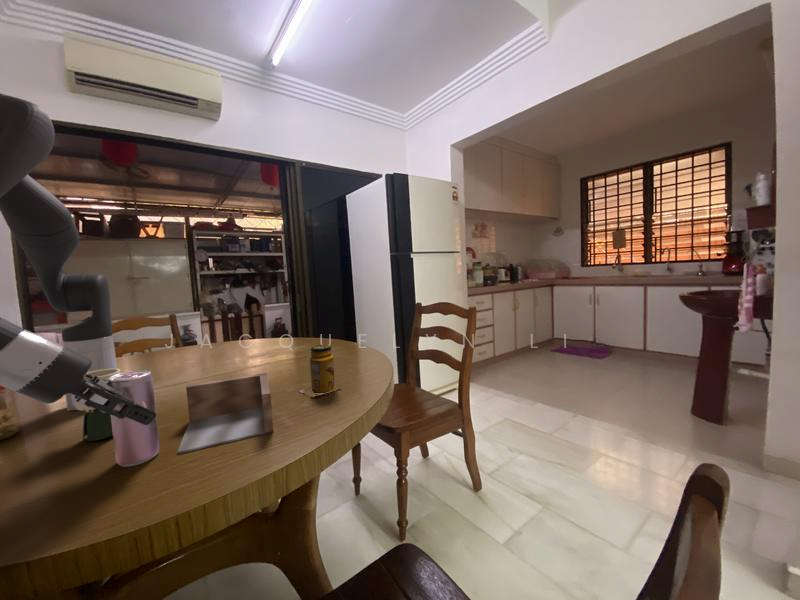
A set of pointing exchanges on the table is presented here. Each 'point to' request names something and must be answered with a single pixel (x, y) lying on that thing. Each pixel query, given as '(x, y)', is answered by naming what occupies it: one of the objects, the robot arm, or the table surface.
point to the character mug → (97, 412)
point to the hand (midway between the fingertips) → (146, 414)
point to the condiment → (321, 369)
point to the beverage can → (129, 435)
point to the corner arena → (227, 411)
